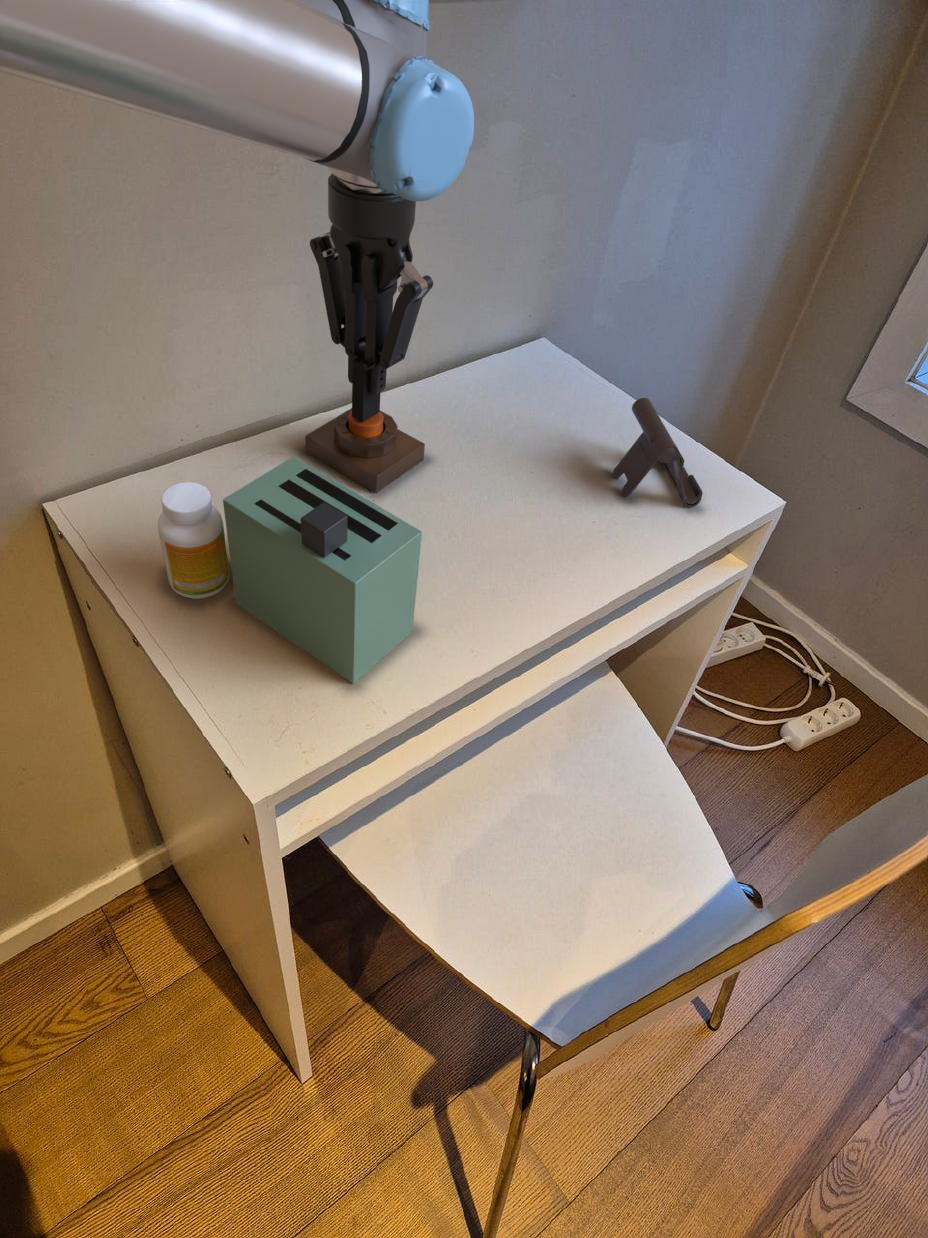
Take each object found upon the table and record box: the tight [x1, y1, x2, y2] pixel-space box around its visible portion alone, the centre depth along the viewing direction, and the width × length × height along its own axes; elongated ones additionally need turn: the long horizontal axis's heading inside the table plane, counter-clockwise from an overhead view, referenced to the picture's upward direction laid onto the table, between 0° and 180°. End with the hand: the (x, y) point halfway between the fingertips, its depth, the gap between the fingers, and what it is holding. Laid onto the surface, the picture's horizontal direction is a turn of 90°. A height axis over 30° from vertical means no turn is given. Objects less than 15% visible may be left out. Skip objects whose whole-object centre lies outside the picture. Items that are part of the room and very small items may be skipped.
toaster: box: [222, 456, 423, 685], centre depth 73 cm, size 14×8×12 cm, turn 53°
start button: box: [349, 411, 383, 438], centre depth 91 cm, size 4×4×2 cm
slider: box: [301, 502, 347, 557], centre depth 65 cm, size 2×3×3 cm
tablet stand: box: [612, 397, 704, 509], centre depth 93 cm, size 9×8×8 cm
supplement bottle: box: [157, 481, 231, 600], centre depth 75 cm, size 5×5×10 cm
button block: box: [304, 407, 426, 494], centre depth 92 cm, size 10×8×4 cm
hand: (365, 414), depth 90 cm, fingers closed
